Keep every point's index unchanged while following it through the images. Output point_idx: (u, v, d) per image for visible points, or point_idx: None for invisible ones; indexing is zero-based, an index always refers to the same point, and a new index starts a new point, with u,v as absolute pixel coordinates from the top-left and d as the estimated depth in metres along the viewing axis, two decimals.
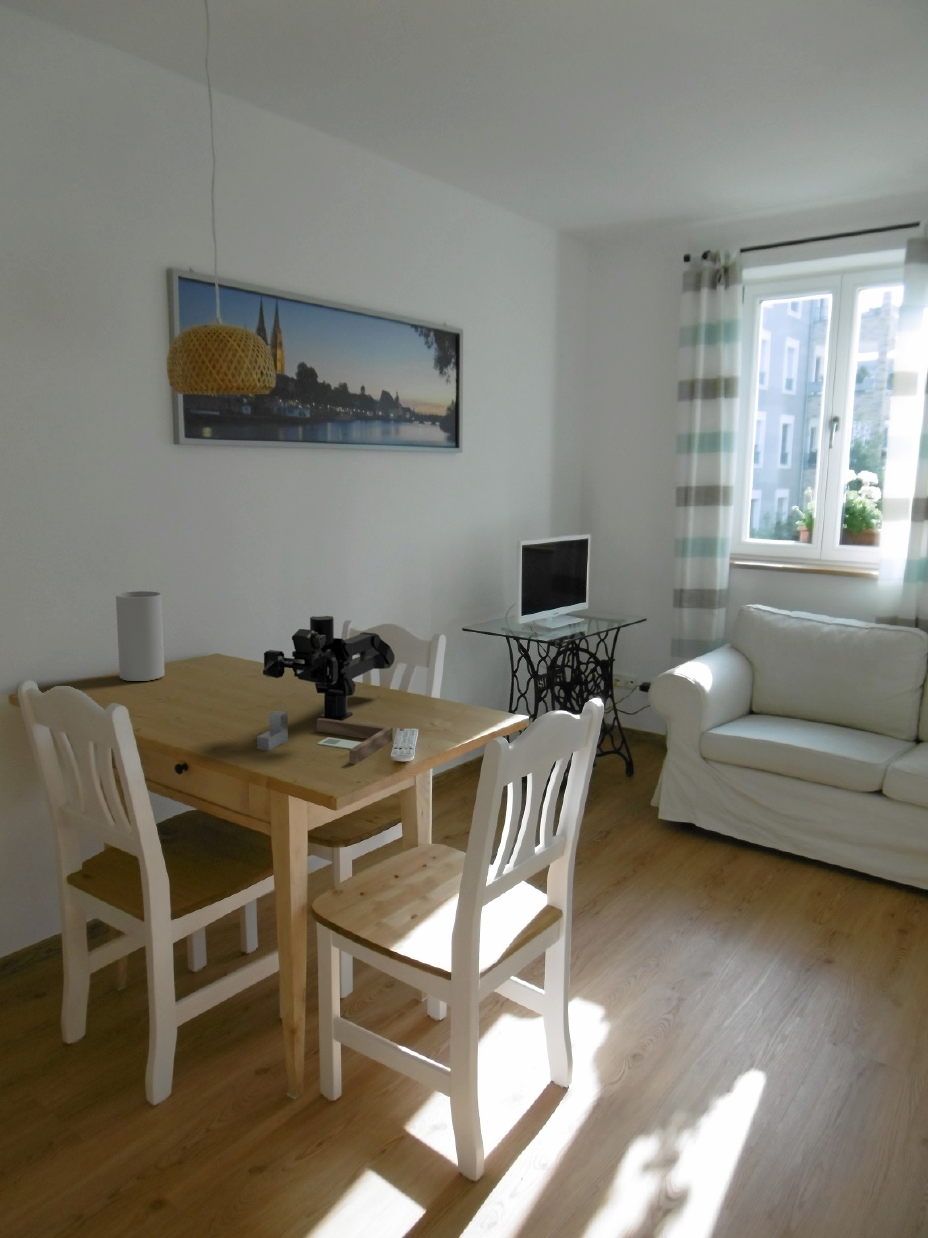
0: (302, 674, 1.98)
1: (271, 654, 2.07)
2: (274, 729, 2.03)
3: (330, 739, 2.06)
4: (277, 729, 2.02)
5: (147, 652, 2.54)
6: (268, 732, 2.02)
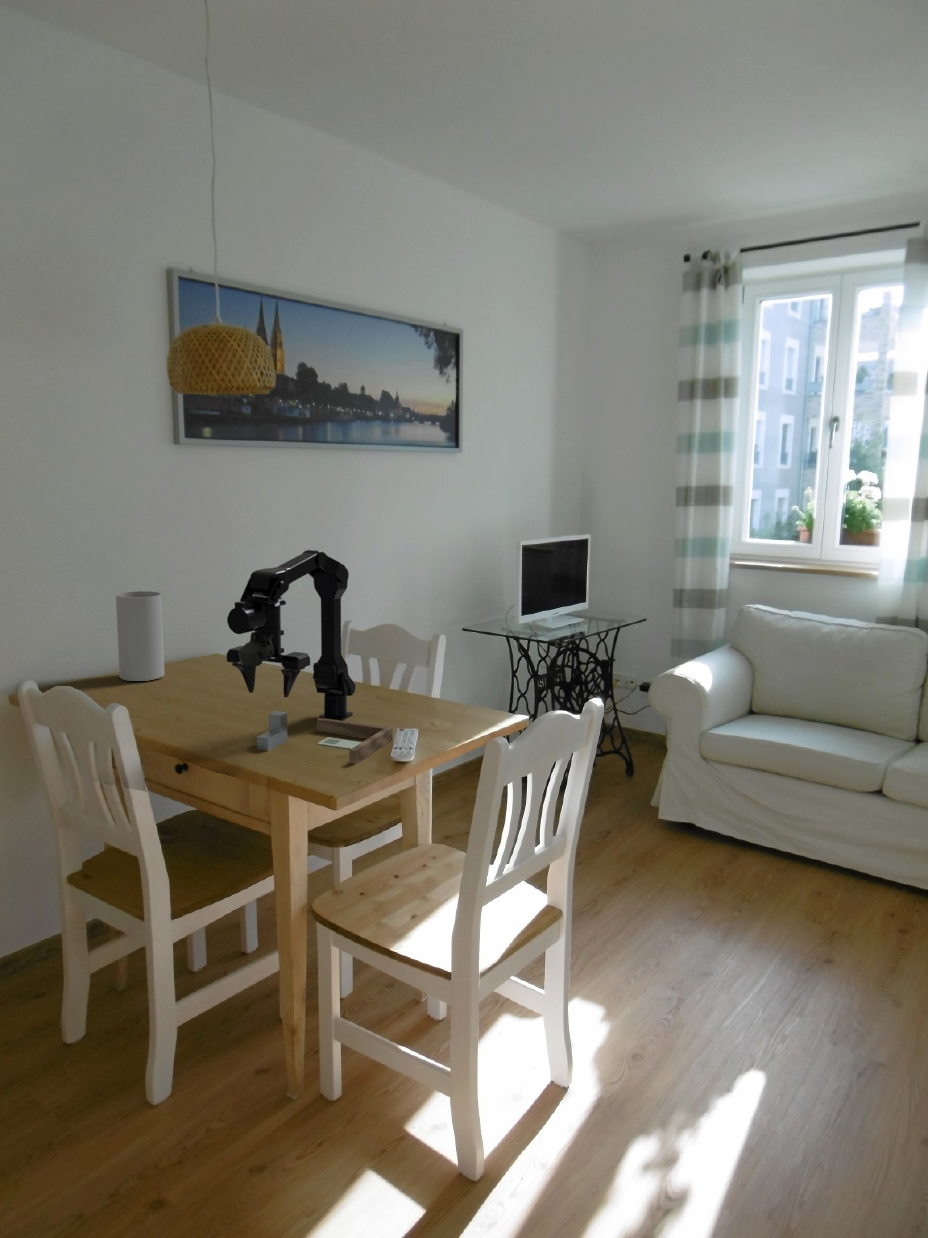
0: (286, 693, 1.97)
1: (236, 666, 1.98)
2: (274, 729, 2.02)
3: (330, 739, 2.06)
4: (277, 729, 2.02)
5: (147, 652, 2.54)
6: (268, 732, 2.02)
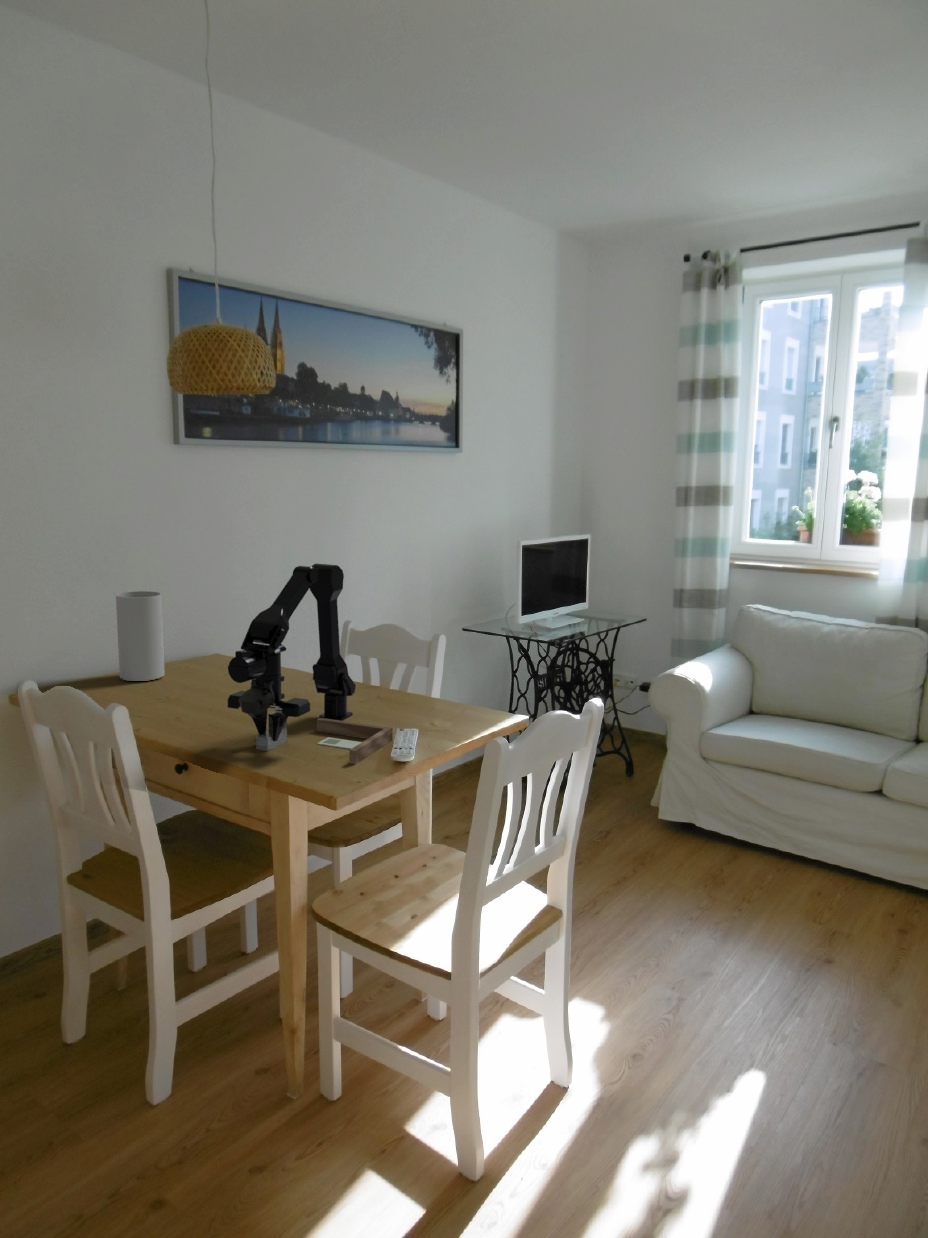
0: (276, 737, 1.99)
1: (247, 713, 1.98)
2: None
3: (330, 739, 2.06)
4: None
5: (147, 652, 2.54)
6: (267, 732, 2.01)
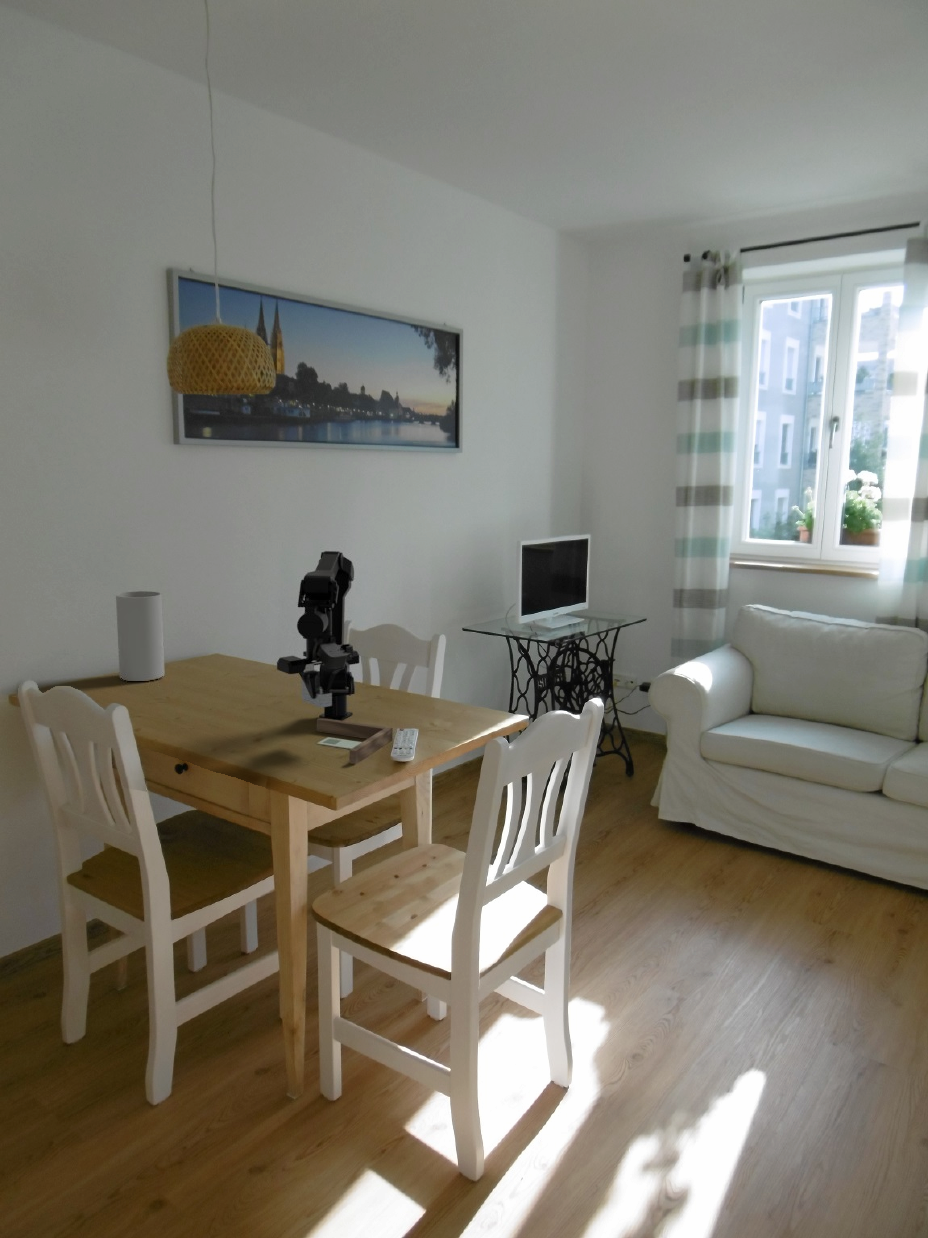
0: None
1: (311, 674, 1.95)
2: None
3: (330, 739, 2.06)
4: (316, 686, 2.02)
5: (147, 652, 2.54)
6: None
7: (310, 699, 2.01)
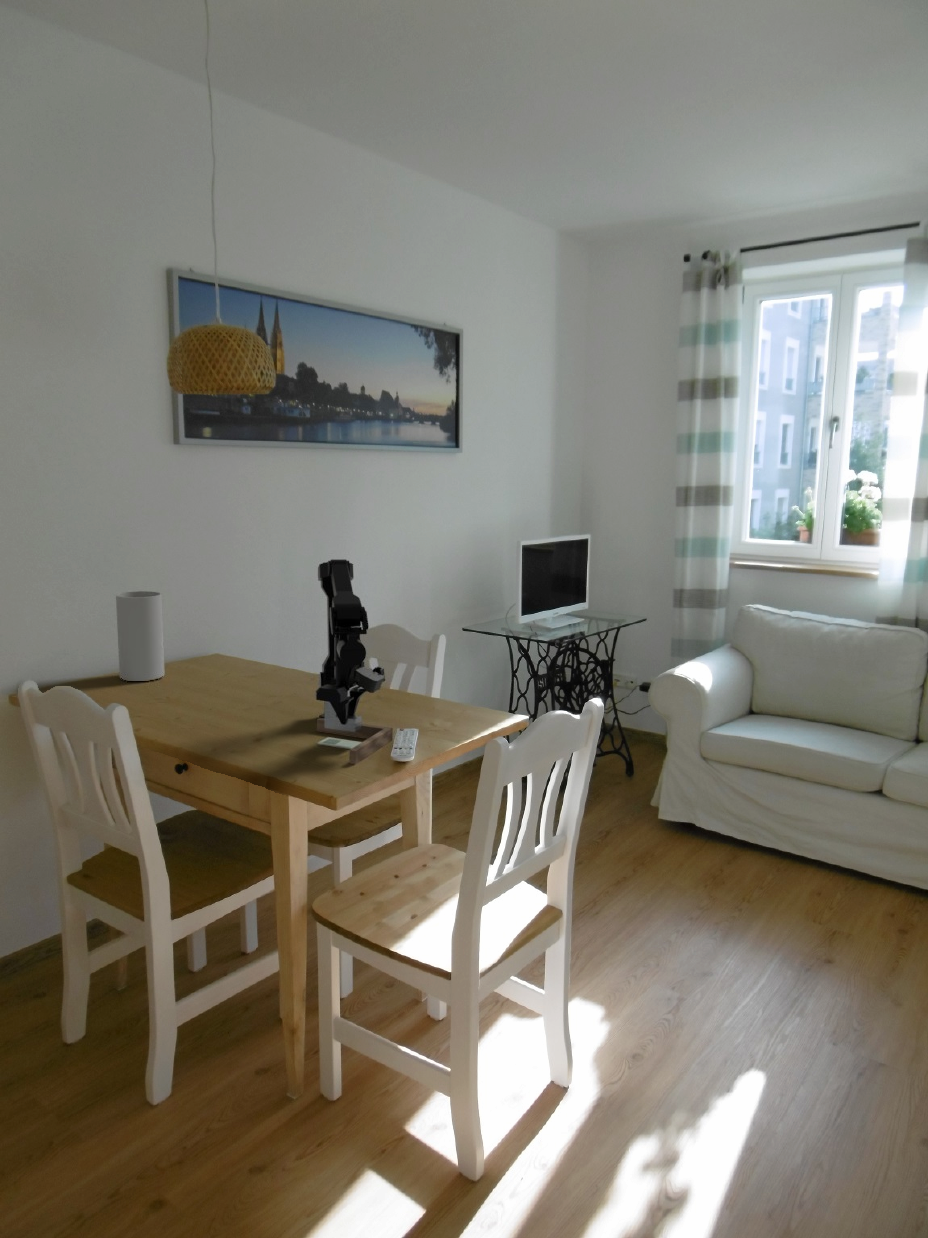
0: None
1: (349, 700, 1.97)
2: None
3: (330, 739, 2.06)
4: None
5: (147, 652, 2.54)
6: None
7: (338, 725, 2.02)
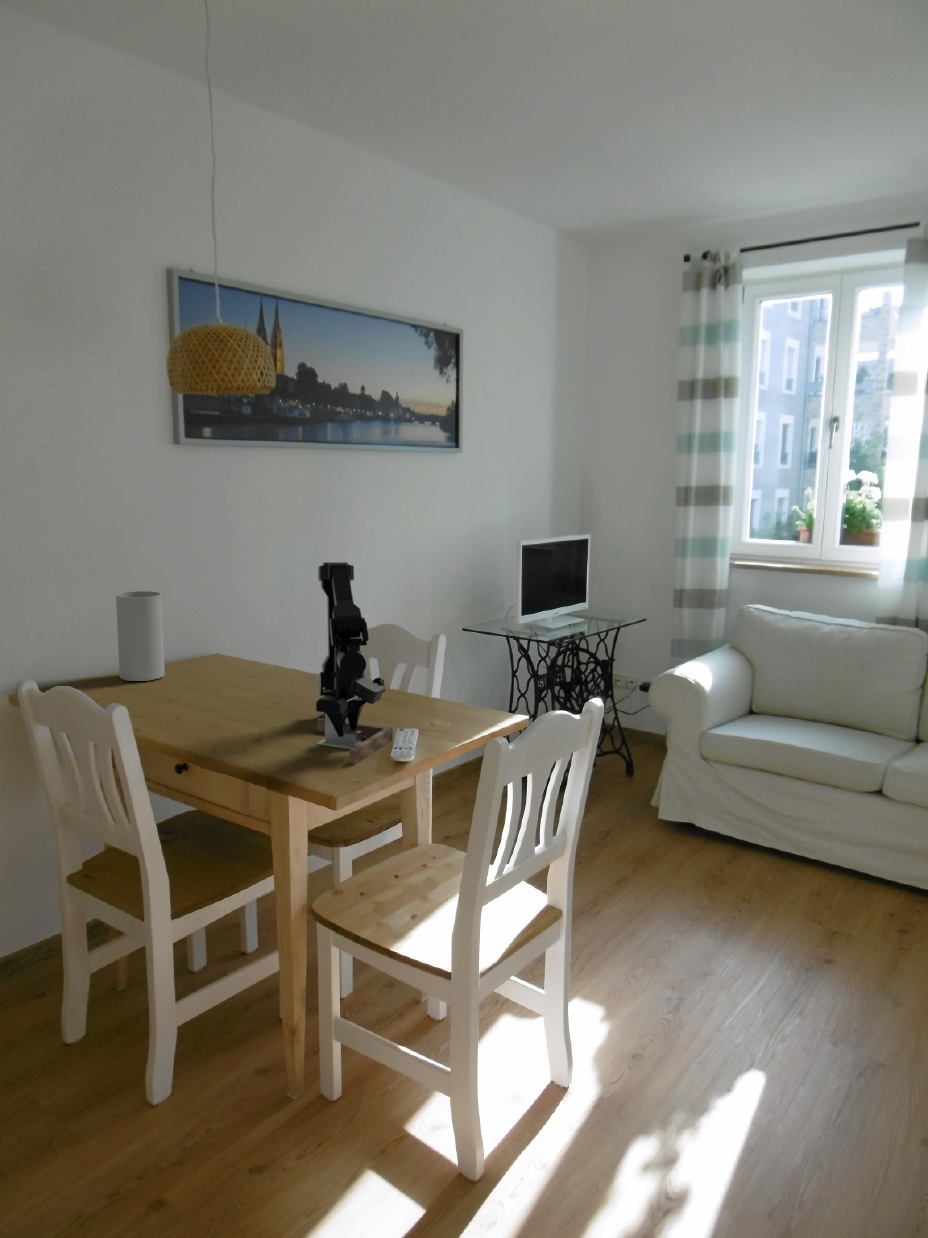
0: None
1: (347, 712, 1.96)
2: None
3: None
4: None
5: (147, 652, 2.54)
6: None
7: (339, 740, 2.02)
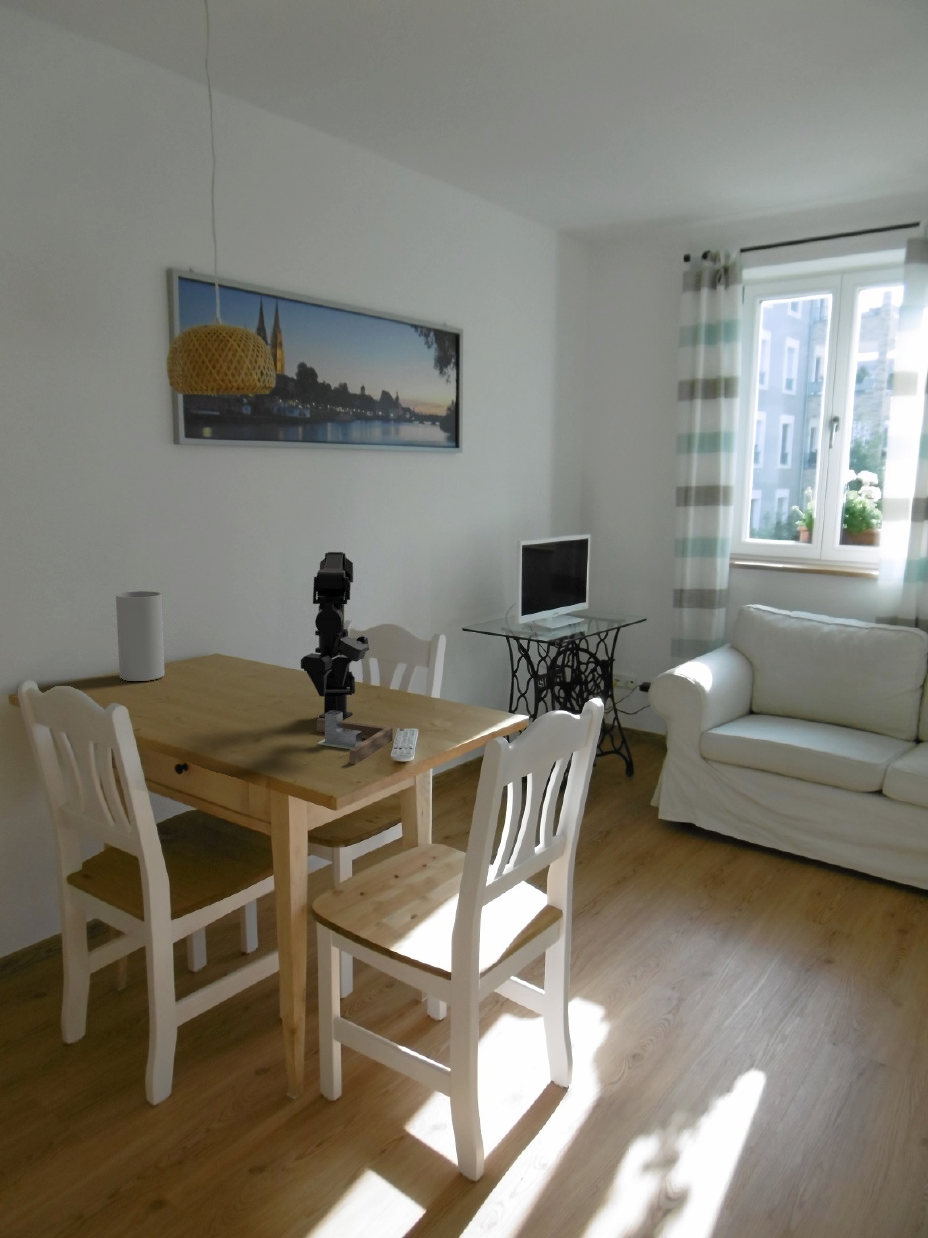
0: None
1: (328, 672, 1.97)
2: (339, 728, 2.03)
3: None
4: (340, 726, 2.04)
5: (147, 652, 2.54)
6: (342, 732, 2.02)
7: (339, 740, 2.02)
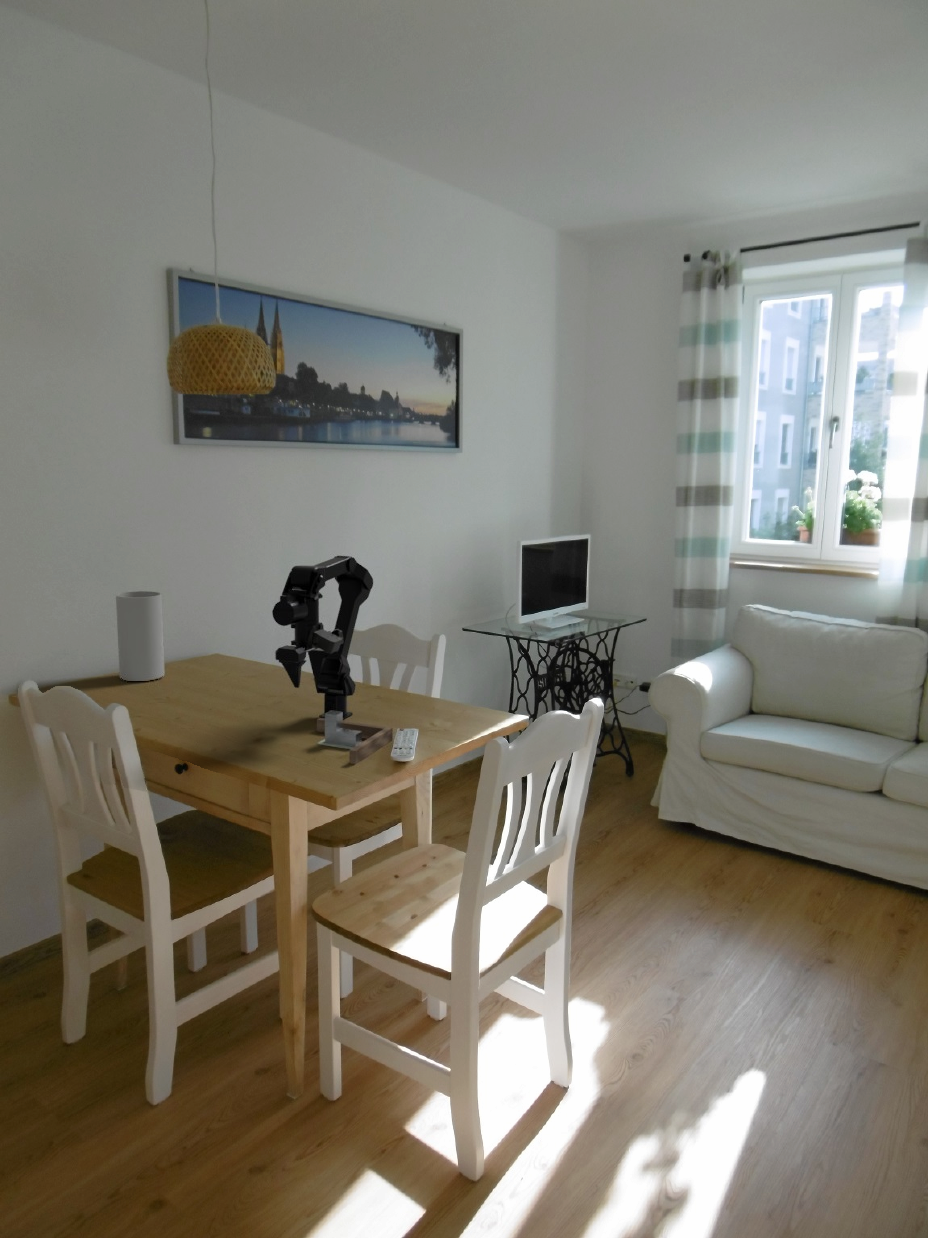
0: None
1: (302, 663, 2.02)
2: (339, 728, 2.03)
3: None
4: (340, 726, 2.04)
5: (147, 652, 2.54)
6: (342, 732, 2.02)
7: (339, 740, 2.02)
